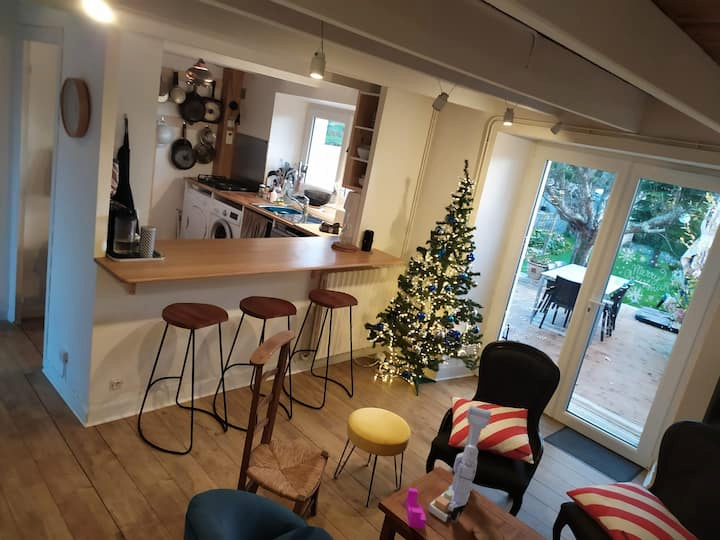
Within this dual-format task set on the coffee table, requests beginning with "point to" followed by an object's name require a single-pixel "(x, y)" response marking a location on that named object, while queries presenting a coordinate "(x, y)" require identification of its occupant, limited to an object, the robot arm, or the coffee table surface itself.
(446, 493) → the green block
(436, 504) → the handled block
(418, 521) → the toy block
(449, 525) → the coffee table surface
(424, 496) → the coffee table surface
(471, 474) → the robot arm
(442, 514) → the rack
